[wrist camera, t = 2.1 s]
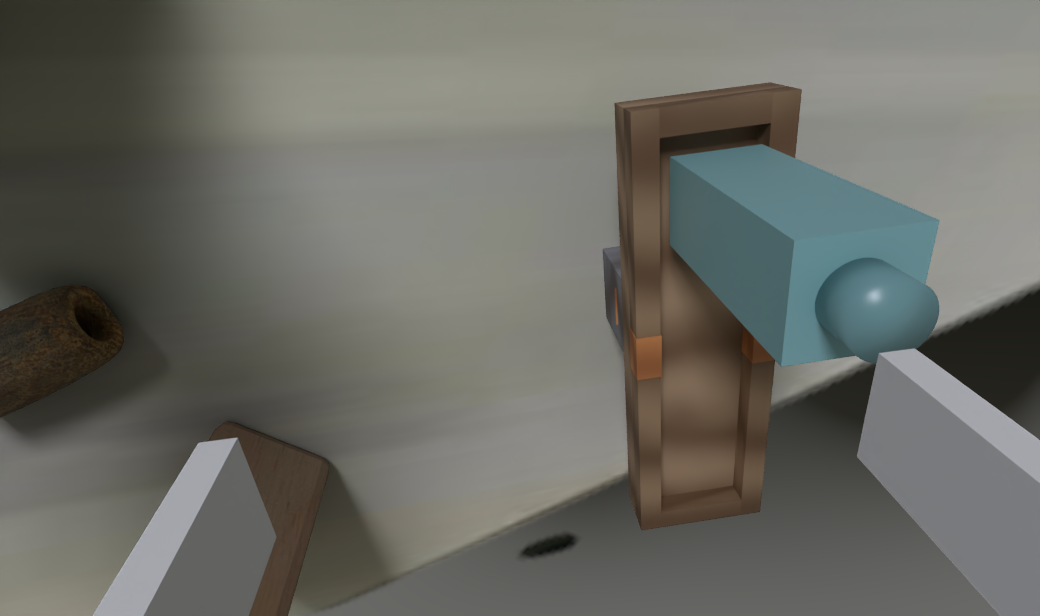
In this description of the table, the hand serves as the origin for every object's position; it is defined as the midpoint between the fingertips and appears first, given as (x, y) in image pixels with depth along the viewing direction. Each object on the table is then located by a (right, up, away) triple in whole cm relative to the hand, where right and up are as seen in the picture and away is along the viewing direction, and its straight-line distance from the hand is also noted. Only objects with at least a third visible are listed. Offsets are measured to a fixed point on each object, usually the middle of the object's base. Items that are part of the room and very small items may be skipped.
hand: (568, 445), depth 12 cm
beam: (+10, +5, +35) cm, 37 cm away
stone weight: (-38, +1, +33) cm, 50 cm away
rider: (+10, +10, +21) cm, 25 cm away
